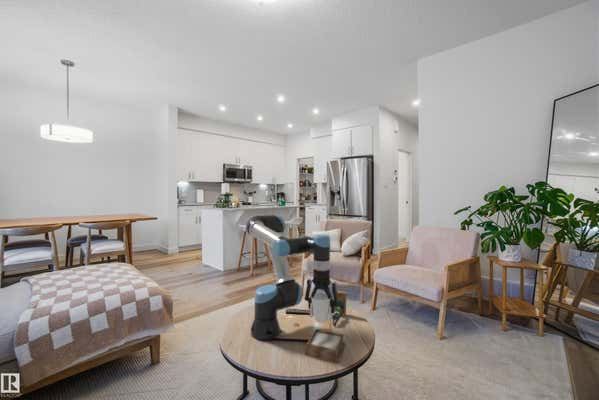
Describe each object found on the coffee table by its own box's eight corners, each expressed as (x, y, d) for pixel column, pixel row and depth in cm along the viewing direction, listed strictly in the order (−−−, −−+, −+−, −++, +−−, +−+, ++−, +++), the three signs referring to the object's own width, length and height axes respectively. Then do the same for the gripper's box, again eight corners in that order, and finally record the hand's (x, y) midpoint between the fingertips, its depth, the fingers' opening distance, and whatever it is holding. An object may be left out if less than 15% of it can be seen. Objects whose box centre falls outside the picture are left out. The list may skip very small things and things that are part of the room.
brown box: (304, 354, 119) (304, 343, 118) (313, 338, 132) (313, 328, 132) (339, 363, 113) (339, 351, 113) (345, 345, 126) (345, 334, 126)
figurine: (333, 312, 161) (346, 314, 159) (330, 326, 144) (345, 328, 142) (333, 290, 161) (346, 291, 159) (330, 301, 144) (344, 302, 142)
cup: (330, 326, 114) (330, 301, 114) (308, 323, 117) (308, 298, 117) (333, 316, 124) (333, 293, 124) (312, 313, 126) (312, 291, 126)
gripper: (297, 268, 121) (296, 317, 121) (342, 273, 113) (341, 326, 113) (303, 264, 128) (303, 310, 128) (346, 269, 120) (345, 318, 120)
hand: (321, 317), depth 120 cm, fingers closed on cup, 8 cm apart
